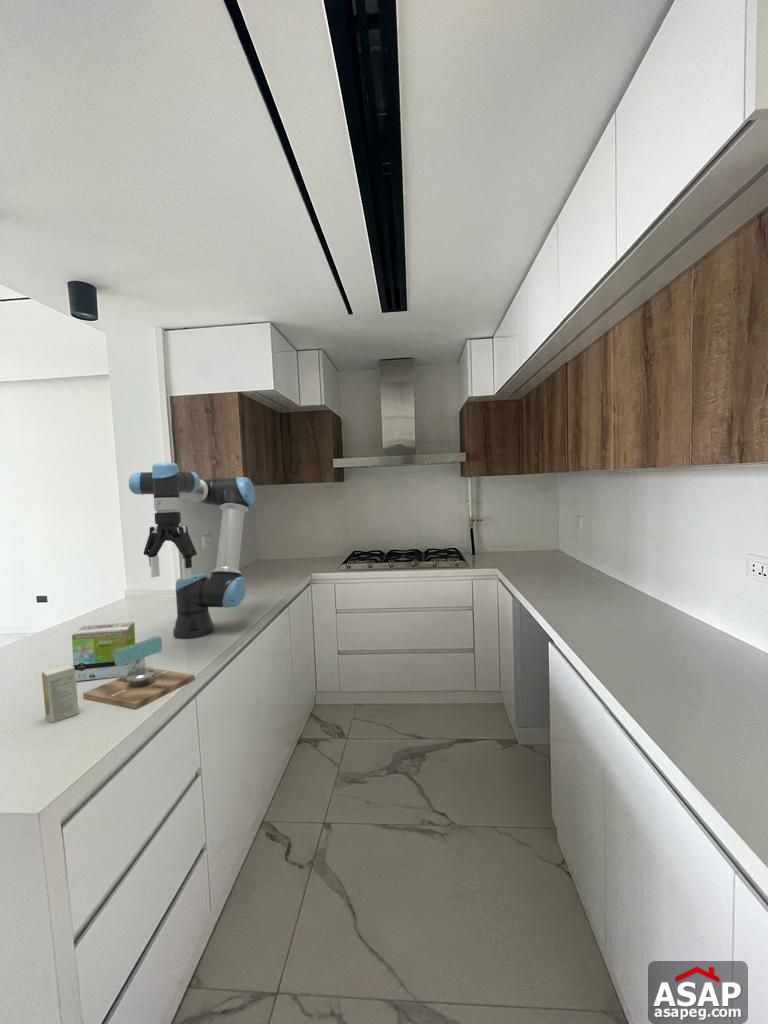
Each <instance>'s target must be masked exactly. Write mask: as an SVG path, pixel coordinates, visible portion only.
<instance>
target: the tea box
mask: <svg viewBox="0 0 768 1024" xmlns="http://www.w3.org/2000/svg"><path fill="white" fill-rule="evenodd" d="M135 629H136V627H135V622H134V621H131V622H121V623H120V622H119V623H107V624H106V623H105V624H95V625H94V624H93V625H83V626H82V627H80V629H78V630H77V631H75V633H73V634H72V635H71V640H72V641H71V642H72V643H71V646H72V661H73V662H72V664H73V665H72V666H73V667H75V677H76V683H77V682H82V681H91V680H98V679H99V680H100V679H109V678H121V677H123V676H126V675H127V674H129V673H130V672H133V671H134V670H133V669H134V668H135V661H134V662H131V663H128V664H126V665H123V666H117V665H115V654H114V651H115V650H118V649H121V648H124V647H127V646H130V645H133V644H136V633H135V631H136V630H135Z"/></svg>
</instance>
